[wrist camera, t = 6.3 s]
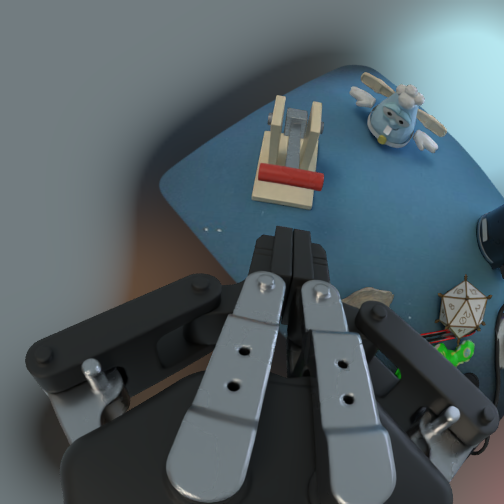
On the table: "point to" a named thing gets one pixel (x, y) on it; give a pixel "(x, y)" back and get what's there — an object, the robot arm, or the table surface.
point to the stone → (368, 297)
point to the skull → (501, 341)
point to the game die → (462, 309)
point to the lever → (292, 158)
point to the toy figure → (397, 114)
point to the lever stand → (276, 154)
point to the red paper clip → (446, 333)
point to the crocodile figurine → (454, 353)
